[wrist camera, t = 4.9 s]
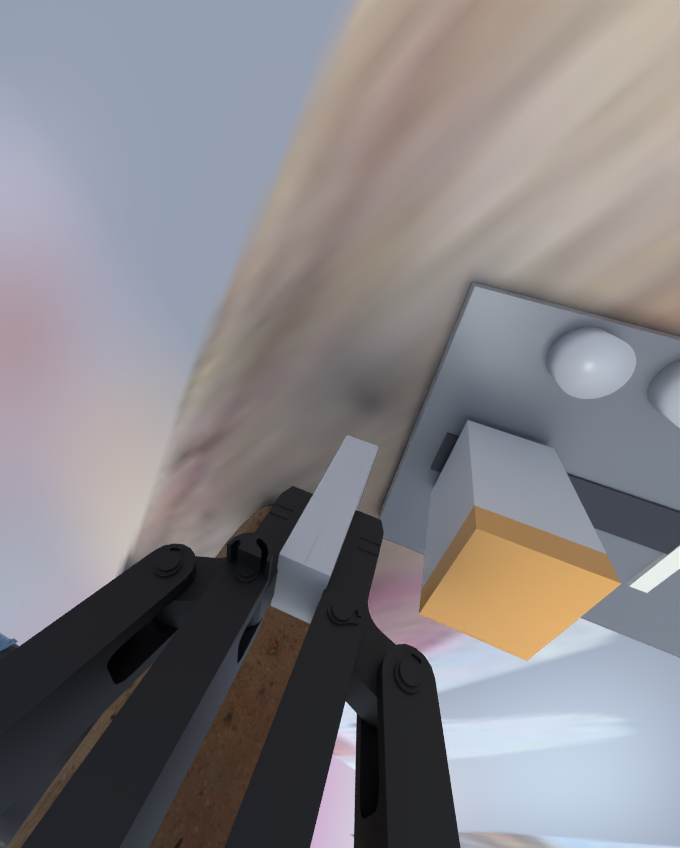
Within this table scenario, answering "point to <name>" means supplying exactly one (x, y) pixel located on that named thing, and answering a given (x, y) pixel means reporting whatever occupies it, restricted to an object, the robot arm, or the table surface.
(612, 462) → the console board
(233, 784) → the brown rounded upright piece
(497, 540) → the fader tab
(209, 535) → the table surface
